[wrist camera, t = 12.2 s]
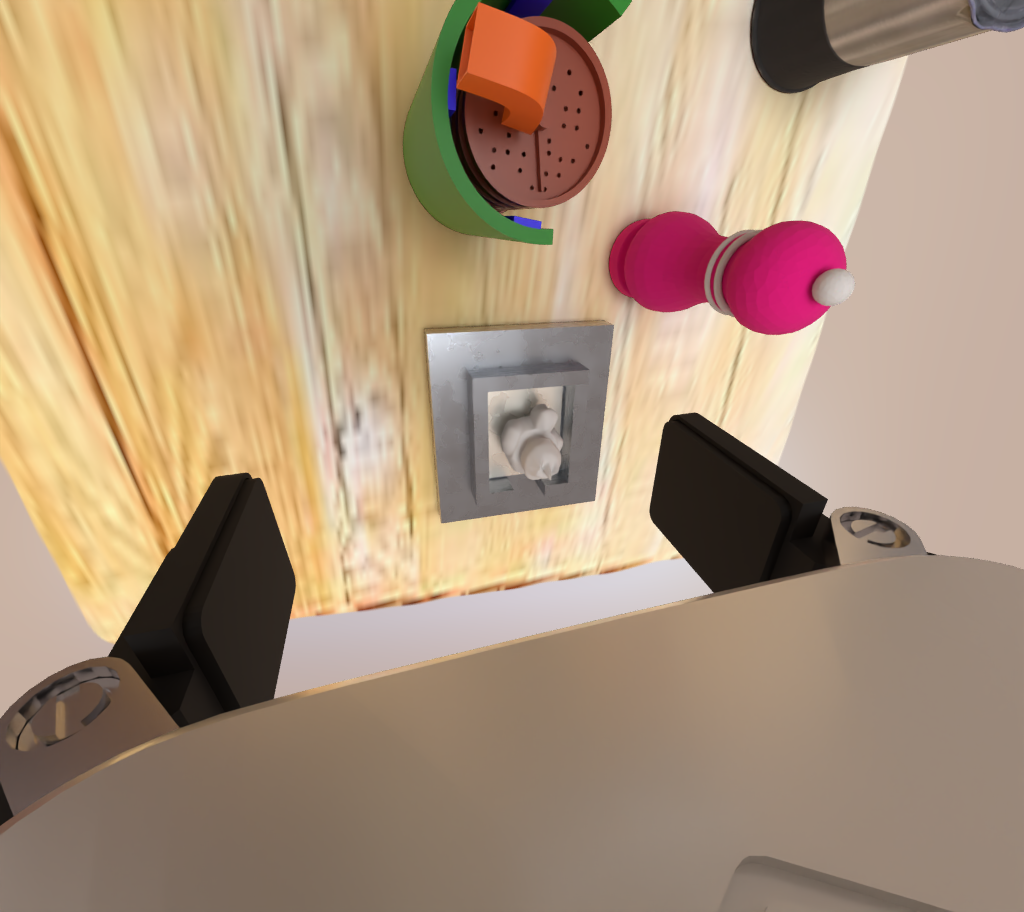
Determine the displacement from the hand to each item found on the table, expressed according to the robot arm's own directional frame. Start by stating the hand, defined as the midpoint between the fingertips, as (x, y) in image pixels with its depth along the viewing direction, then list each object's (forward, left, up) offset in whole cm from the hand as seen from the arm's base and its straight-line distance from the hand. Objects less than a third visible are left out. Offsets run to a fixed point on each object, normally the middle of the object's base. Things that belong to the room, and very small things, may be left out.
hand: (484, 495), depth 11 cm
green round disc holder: (-10, +5, -30) cm, 32 cm away
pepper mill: (-3, +20, -30) cm, 36 cm away
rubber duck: (+11, +9, -27) cm, 31 cm away
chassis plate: (+11, +9, -29) cm, 33 cm away
